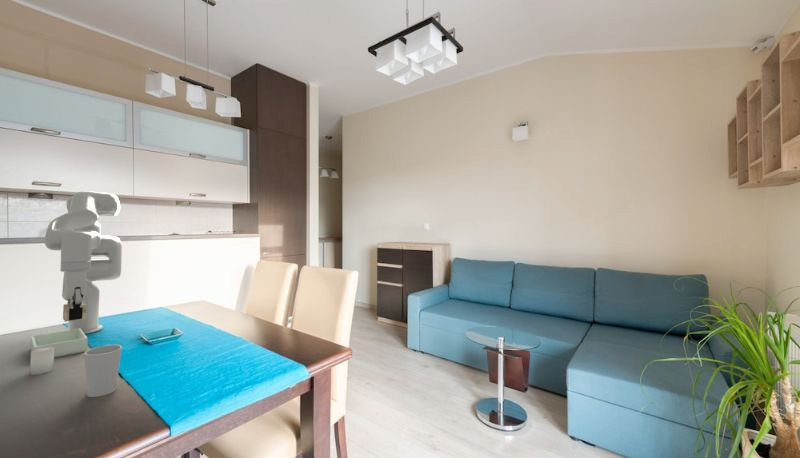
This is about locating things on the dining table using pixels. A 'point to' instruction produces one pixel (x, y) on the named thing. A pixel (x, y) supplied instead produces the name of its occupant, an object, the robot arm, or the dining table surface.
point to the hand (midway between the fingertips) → (74, 317)
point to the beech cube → (68, 306)
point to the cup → (102, 369)
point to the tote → (61, 342)
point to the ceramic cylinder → (42, 360)
